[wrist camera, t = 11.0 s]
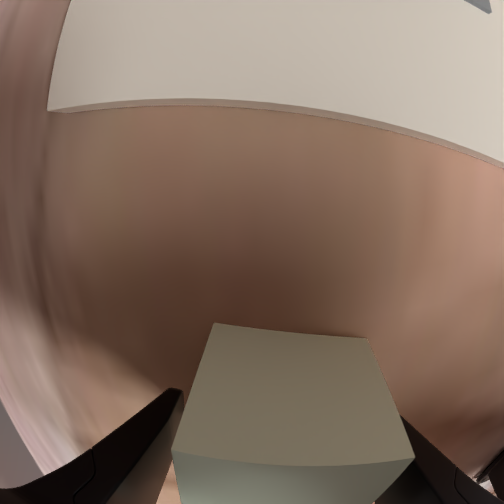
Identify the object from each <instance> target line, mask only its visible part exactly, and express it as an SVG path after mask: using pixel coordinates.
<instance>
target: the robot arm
mask: <svg viewBox="0 0 504 504" xmlns="http://www.w3.org/2000/svg"><path fill="white" fill-rule="evenodd" d="M183 412H184V394H183V391H182V390H180V389H175V388H168V389H167V390H166V391H165V392H163V393H162V394H161V395H160V396H158V397H157V398H156V399H155V400H153V401H152V402H151V403H149V404H148V405H147V406H146V407H144V408H143V409H142V410H141V411H139V412H138V413H137V414H135V415H134V416H133V417H132V418H130V419H129V420H128V421H126V422H125V423H124V424H122V425H121V426H120V427H118V428H117V429H116V430H114V431H113V432H112V433H110V434H109V435H108V436H106V437H105V438H104V439H102V440H101V441H100V442H98V443H97V444H96V445H94V446H93V447H92V449H88V450H87V451H86V452H84V453H83V454H82V455H80V456H78V457H77V458H75V459H74V460H72V461H71V462H69V463H68V464H66V465H64V466H62V467H60V468H59V469H57V470H55V471H53V472H51V473H49V474H47V475H45V476H43V477H41V478H38V479H36V480H34V481H32V482H30V483H28V484H25V485H23V486H20V487H16V488H8V489H1V488H0V504H156V502H157V499H158V496H159V494H160V491H161V489H162V486H163V483H164V481H165V478H166V475H167V473H168V470H169V467H170V465H171V462H172V460H173V458H172V453H171V448H172V445H173V442H174V439H175V436H176V433H177V430H178V427H179V424H180V421H181V418H182V415H183ZM399 415H400V414H399ZM400 418H401V420H402V423H403V425H404V428H405V431H406V433H407V436H408V439H409V441H410V444H411V447H412V450H413V452H414V455H415V458H414V459H413V461H412V462H411V463H410V464H409V465H408V466H407V468H406V469H405V470H404V471H403V472H402V473H401V474H400V476H399V477H398V478H397V479H396V480H395V481H394V482H393V483H392V484H391V485H390V486H389V487H388V488H387V489H386V490H385V491H384V492H383V493H382V494H381V495H380V496H379V497H378V498H377V499H376V500H375V504H504V451H503V452H502V453H501V455H500V456H499V457H498V458H497V459H496V460H495V461H494V462H493V463H492V464H491V465H490V466H489V467H488V468H487V469H486V471H485V472H484V473H483V474H482V475H480V476H479V477H478V478H477V480H476V481H477V483H476V482H475V481H473V480H472V479H471V478H470V477H468V476H467V475H466V474H465V473H464V472H463V471H461V470H460V469H459V468H458V467H456V465H455V464H454V463H452V462H451V461H450V460H449V459H448V458H447V457H446V456H445V455H443V454H442V453H441V452H440V451H439V450H438V449H437V448H436V447H435V446H434V445H432V444H431V443H430V442H429V441H428V440H427V439H426V438H425V437H424V436H423V435H421V434H420V433H419V432H418V431H417V430H416V429H415V428H414V427H413V426H412V425H411V424H409V423H408V422H407V421H406V420H405V419H404V418H403V417H402V416H401V415H400ZM487 480H490V482H491V484H492V486H493V489H494V491H495V493H496V496H497V497H496V496H494V495H493V494H492V493H490V492H489V491H487V490H486V489H484V488H483V487H481V486H480V485H479V484H480V483H483V482H485V481H487Z"/></svg>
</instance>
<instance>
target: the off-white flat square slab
mask: <svg viewBox="0 0 504 504" xmlns="http://www.w3.org/2000/svg"><path fill="white" fill-rule="evenodd" d="M140 106H222V107H240V108H253V109H264V110H274V111H283V112H291V113H299V114H306V115H313V116H319V117H325V118H331V119H337V120H342V121H347V122H352V123H357V124H362V125H367V126H371V127H376V128H380V129H384V130H388V131H392V132H396V133H400V134H404V135H408V136H411V137H415V138H418V139H422V140H425V141H428V142H432V143H435V144H438V145H441V146H444V147H447V148H450V149H453V150H456V151H459V152H462V153H465V154H467V155H470V156H473V157H475V158H478V159H481V160H483V161H486V162H488V163H491V164H493V165H496V166H498V167H500V168H503V169H504V0H71V2H70V5H69V8H68V11H67V15H66V18H65V21H64V25H63V28H62V32H61V36H60V40H59V44H58V48H57V52H56V57H55V62H54V67H53V72H52V78H51V83H50V90H49V97H48V104H47V111H51V112H61V113H74V112H82V111H91V110H100V109H111V108H123V107H140Z"/></svg>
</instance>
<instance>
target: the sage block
mask: <svg viewBox="0 0 504 504" xmlns="http://www.w3.org/2000/svg"><path fill="white" fill-rule="evenodd" d="M171 453H172V458H173V464H174V469H175V475H176V480H177V485H178V490H179V494H180V499H181V503H182V504H372V503H373V502H374V501H375V500H376V499H377V498H378V497H379V496H380V495H381V494H382V493H383V492H384V491H385V490H386V489H387V488H388V487H389V486H390V485H391V484H392V483H393V482H394V481H395V480H396V479H397V478H398V477H399V476H400V474H401V473H402V472H403V471H404V470H405V469H406V468H407V466H408V465H409V464H410V463H411V462H412V461H413V459H414V458H415V455H414V452H413V450H412V447H411V444H410V441H409V439H408V436H407V433H406V431H405V428H404V425H403V423H402V420H401V418H400V415H399V413H398V410H397V408H396V405H395V403H394V400H393V398H392V395H391V393H390V390H389V388H388V386H387V383H386V381H385V378H384V376H383V374H382V371H381V369H380V367H379V365H378V362H377V360H376V358H375V355H374V353H373V351H372V349H371V346H370V344H369V342H368V340H367V338H356V337H340V336H327V335H315V334H304V333H293V332H284V331H275V330H266V329H257V328H249V327H242V326H234V325H227V324H220V323H214V324H213V326H212V329H211V332H210V335H209V338H208V341H207V344H206V347H205V350H204V353H203V356H202V358H201V361H200V364H199V367H198V370H197V373H196V376H195V379H194V382H193V385H192V388H191V391H190V394H189V397H188V400H187V403H186V406H185V409H184V412H183V415H182V418H181V421H180V424H179V427H178V430H177V433H176V436H175V439H174V442H173V445H172V448H171Z"/></svg>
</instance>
